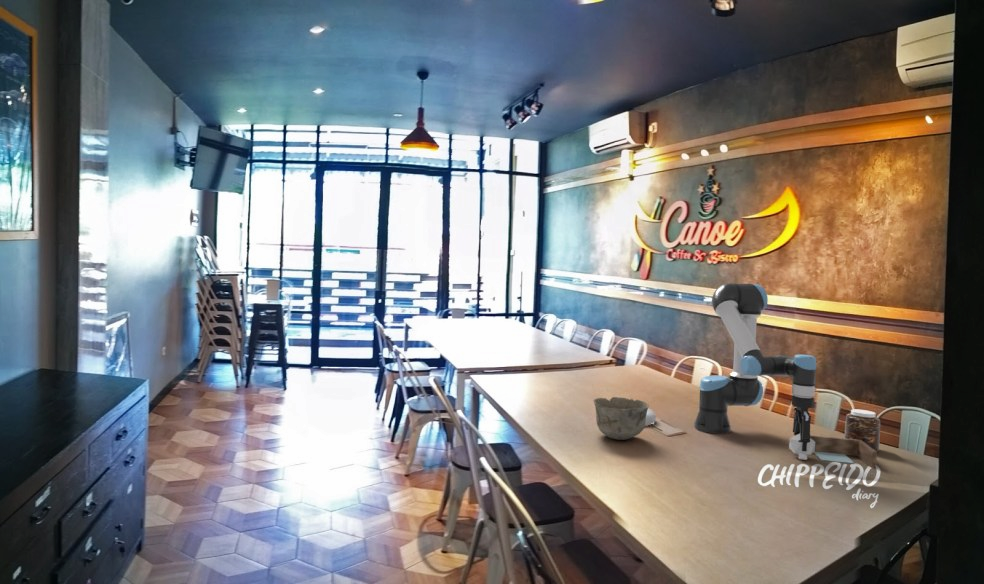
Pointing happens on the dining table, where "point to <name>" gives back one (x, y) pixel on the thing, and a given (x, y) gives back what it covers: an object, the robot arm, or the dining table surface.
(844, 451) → the arena
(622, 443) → the dining table surface
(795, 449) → the die
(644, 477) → the dining table surface
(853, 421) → the jar
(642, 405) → the bowl
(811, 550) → the dining table surface
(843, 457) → the mat
